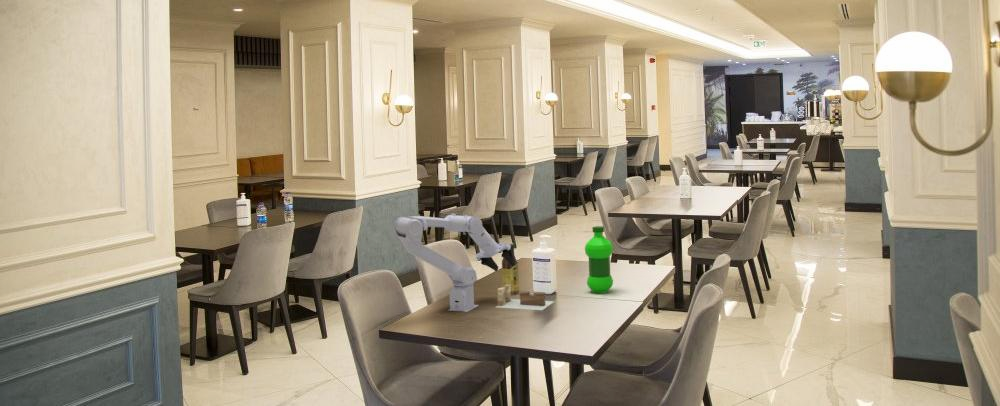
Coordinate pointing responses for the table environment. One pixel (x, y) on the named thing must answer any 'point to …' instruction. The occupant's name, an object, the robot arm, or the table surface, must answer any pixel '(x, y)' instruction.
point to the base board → (516, 305)
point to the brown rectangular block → (532, 298)
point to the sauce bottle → (510, 273)
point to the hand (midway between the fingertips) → (505, 266)
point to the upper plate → (504, 294)
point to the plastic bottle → (599, 261)
